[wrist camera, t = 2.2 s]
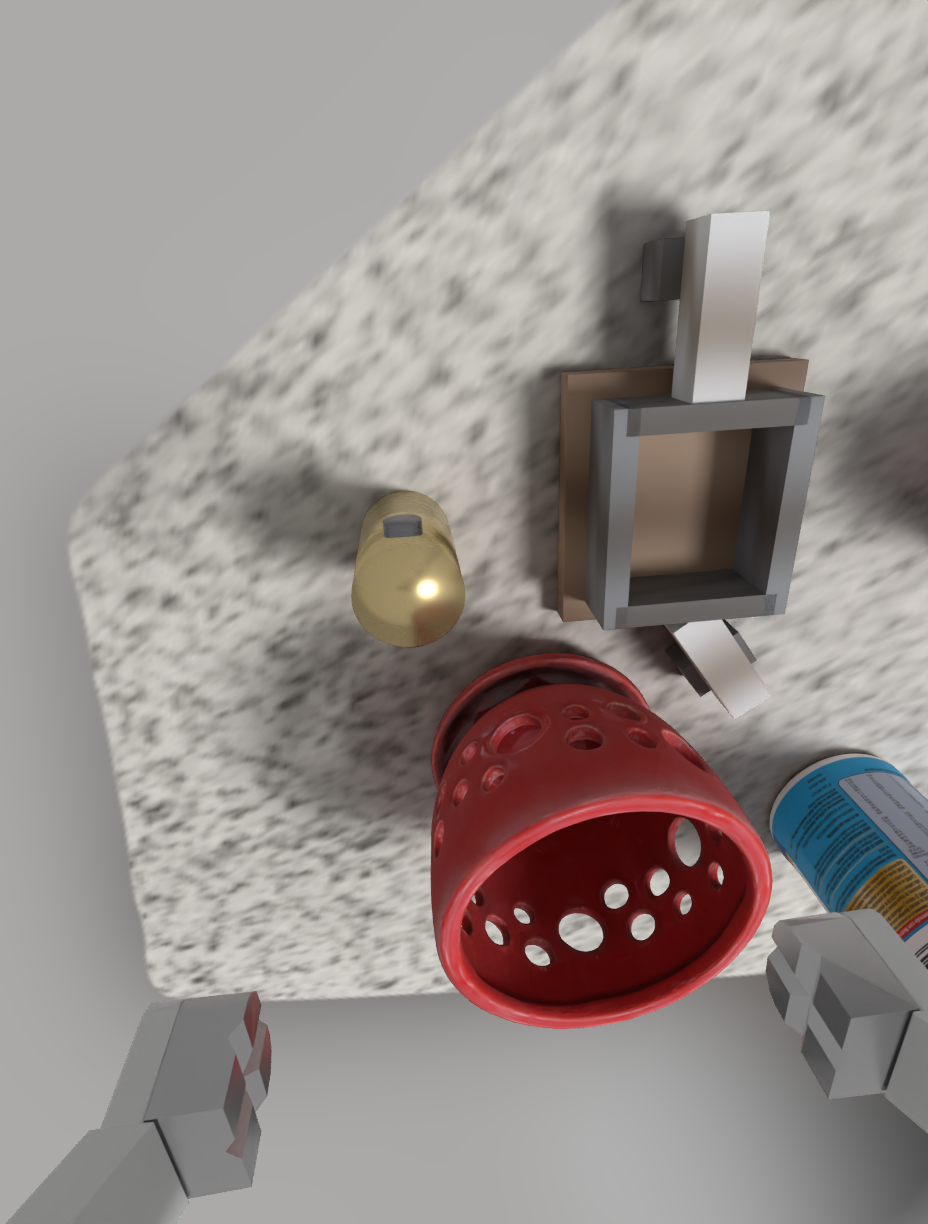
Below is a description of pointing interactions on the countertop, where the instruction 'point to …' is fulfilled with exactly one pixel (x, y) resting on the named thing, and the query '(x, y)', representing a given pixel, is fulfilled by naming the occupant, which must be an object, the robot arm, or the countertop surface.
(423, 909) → the countertop surface
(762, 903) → the plant pot
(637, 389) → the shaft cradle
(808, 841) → the beverage bottle
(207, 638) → the countertop surface
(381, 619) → the cylinder
